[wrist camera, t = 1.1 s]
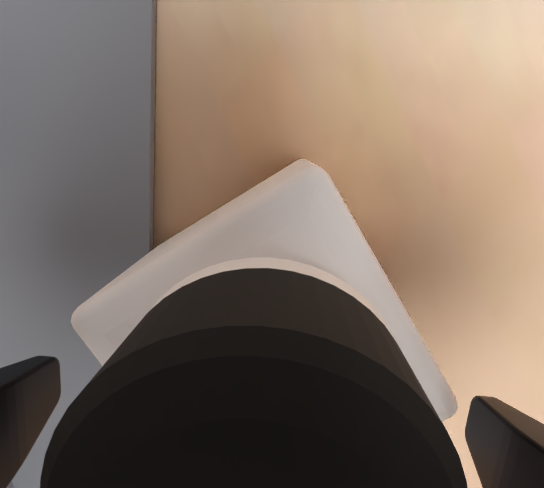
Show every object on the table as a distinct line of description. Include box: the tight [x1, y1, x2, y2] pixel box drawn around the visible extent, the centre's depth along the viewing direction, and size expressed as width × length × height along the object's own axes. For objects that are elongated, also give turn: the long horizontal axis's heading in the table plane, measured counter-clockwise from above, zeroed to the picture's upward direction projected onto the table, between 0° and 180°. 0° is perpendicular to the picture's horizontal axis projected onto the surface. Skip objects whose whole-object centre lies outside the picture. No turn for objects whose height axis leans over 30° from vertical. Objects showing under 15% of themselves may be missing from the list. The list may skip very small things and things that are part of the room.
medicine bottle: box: [40, 158, 467, 488], centre depth 11 cm, size 7×7×12 cm
